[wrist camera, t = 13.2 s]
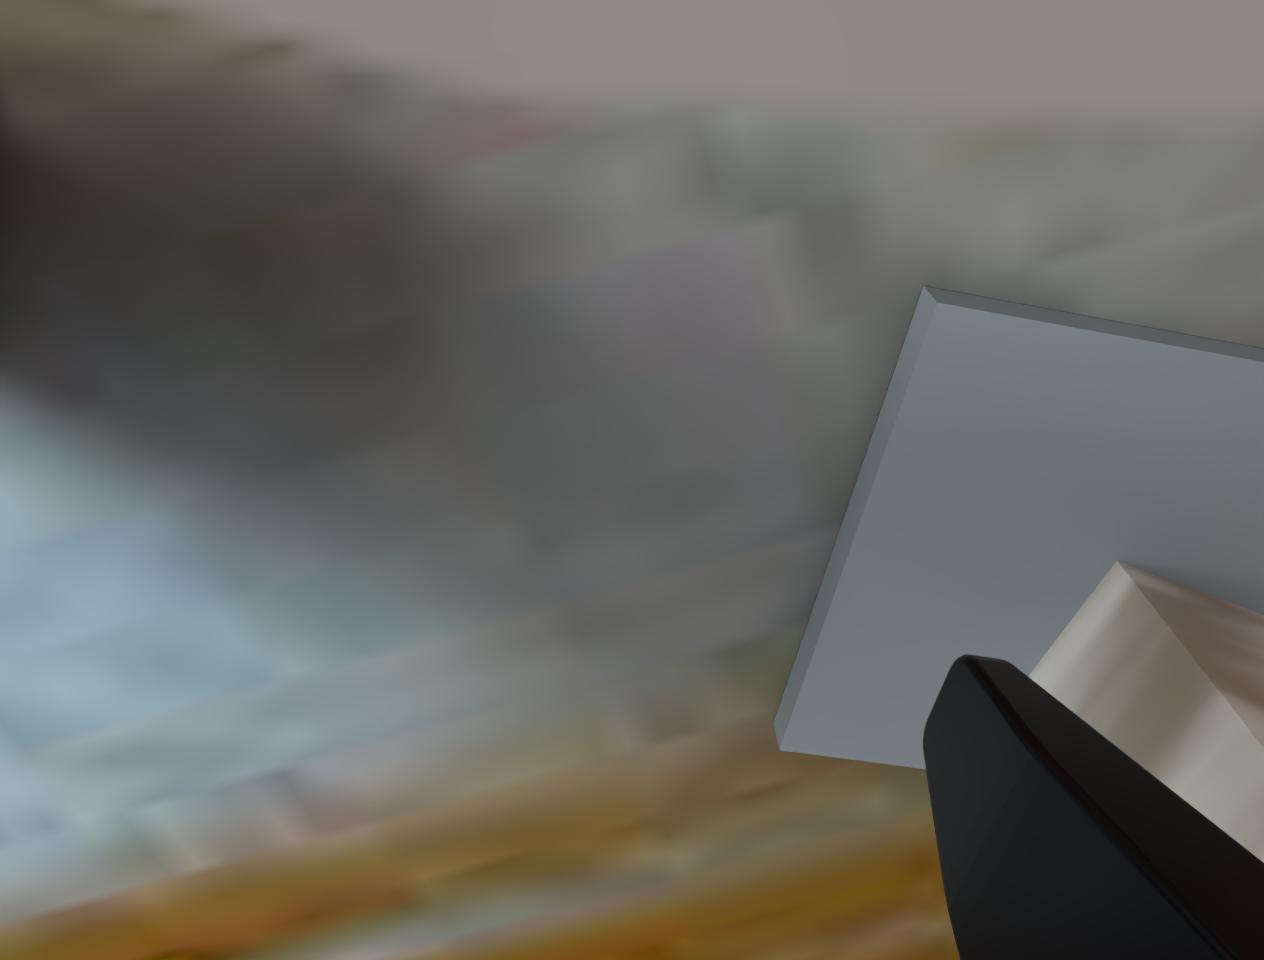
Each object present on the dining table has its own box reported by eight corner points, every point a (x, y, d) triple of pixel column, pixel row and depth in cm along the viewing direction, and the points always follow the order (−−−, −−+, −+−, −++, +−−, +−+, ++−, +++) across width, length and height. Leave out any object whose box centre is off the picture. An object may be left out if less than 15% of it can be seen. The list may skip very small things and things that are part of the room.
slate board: (773, 722, 26) (780, 758, 25) (923, 286, 21) (941, 307, 19) (1263, 787, 28) (1291, 824, 27) (1530, 397, 22) (1580, 424, 21)
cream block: (996, 716, 25) (1202, 1145, 16) (1117, 560, 23) (1429, 961, 14) (1161, 769, 26) (1438, 1200, 17) (1292, 625, 24) (1684, 1037, 15)
